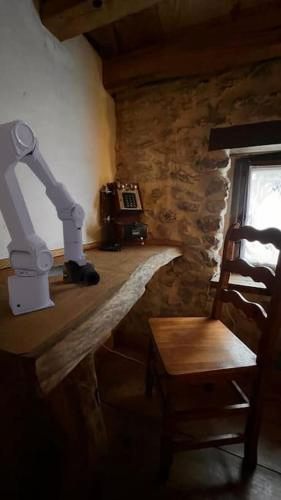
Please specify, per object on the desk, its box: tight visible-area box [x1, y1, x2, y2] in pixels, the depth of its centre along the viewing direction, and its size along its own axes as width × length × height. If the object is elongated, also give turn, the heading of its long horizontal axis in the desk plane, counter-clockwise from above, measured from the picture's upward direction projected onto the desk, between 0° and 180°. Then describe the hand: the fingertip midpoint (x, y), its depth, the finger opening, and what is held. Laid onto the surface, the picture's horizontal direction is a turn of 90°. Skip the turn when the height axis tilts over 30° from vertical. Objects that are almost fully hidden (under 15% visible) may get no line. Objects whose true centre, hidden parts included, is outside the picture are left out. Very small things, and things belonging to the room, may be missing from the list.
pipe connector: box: [62, 263, 101, 286], centre depth 83 cm, size 12×5×15 cm
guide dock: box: [48, 259, 96, 278], centre depth 91 cm, size 20×4×4 cm, turn 126°
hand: (75, 283), depth 75 cm, fingers closed
